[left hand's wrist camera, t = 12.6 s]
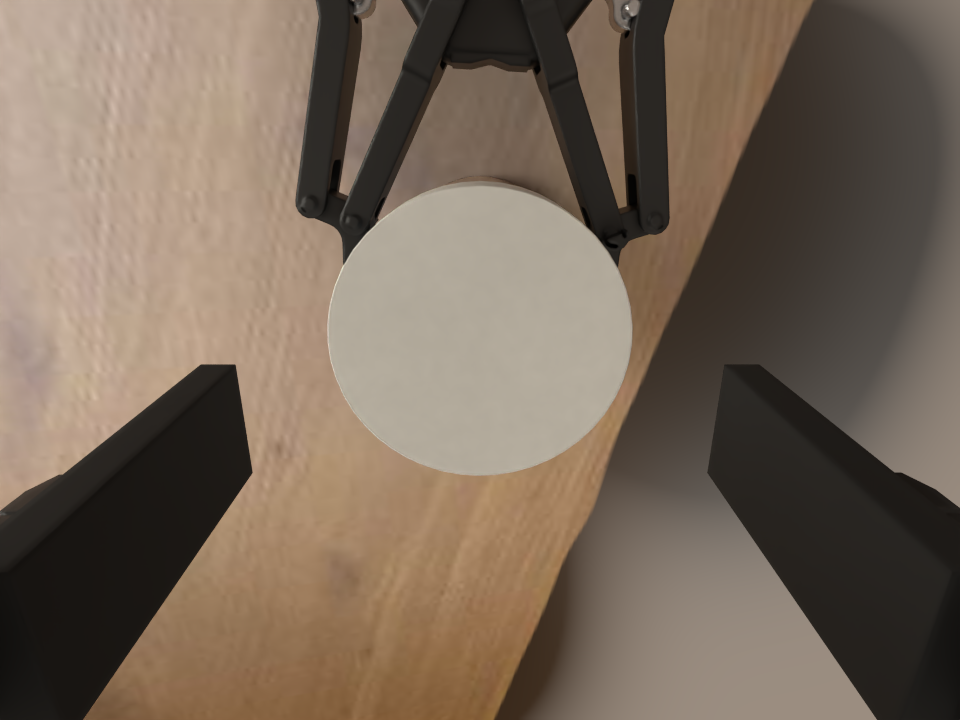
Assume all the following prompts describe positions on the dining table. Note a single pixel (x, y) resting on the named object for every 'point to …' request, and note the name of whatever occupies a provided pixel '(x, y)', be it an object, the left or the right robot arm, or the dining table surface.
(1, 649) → the left robot arm
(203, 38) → the dining table surface
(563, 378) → the lid
